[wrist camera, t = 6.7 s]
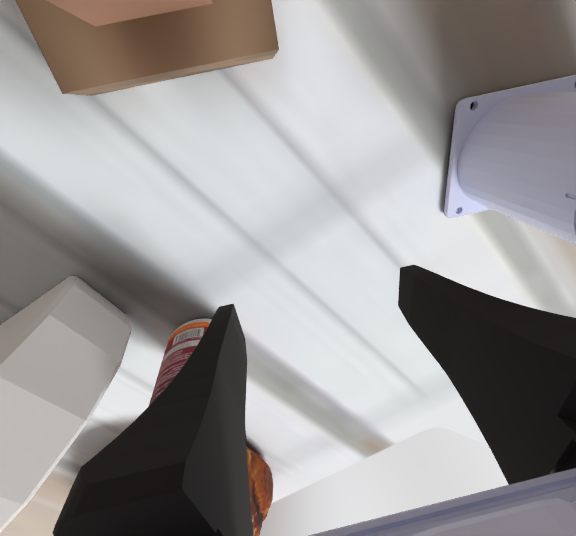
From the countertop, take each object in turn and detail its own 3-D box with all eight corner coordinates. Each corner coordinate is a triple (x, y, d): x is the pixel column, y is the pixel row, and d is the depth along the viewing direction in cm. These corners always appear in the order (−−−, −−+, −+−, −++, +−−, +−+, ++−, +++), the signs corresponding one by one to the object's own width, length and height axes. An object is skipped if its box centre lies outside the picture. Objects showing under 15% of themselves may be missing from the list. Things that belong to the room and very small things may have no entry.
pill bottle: (161, 360, 25) (112, 518, 16) (179, 307, 23) (134, 456, 13) (228, 372, 27) (221, 519, 18) (251, 325, 25) (258, 466, 15)
